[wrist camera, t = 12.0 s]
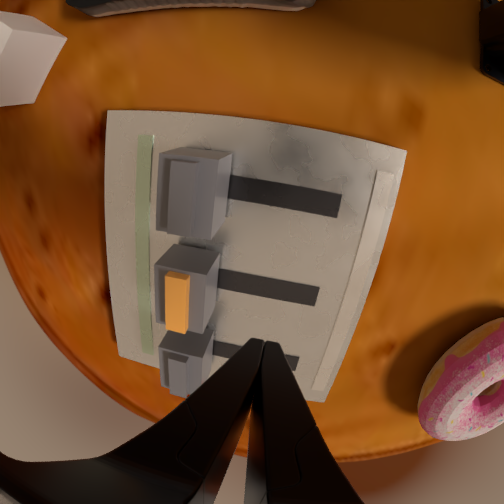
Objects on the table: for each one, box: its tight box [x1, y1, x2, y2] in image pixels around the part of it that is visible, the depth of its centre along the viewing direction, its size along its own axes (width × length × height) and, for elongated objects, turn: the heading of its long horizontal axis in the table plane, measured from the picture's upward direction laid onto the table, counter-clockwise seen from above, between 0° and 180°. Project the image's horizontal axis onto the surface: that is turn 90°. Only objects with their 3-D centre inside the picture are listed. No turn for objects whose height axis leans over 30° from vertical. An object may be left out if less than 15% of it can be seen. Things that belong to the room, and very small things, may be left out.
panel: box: [105, 110, 407, 402], centre depth 21 cm, size 18×20×2 cm
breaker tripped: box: [154, 244, 220, 334], centre depth 19 cm, size 3×4×4 cm
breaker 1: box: [156, 147, 233, 240], centre depth 16 cm, size 3×4×4 cm
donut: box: [417, 317, 504, 441], centre depth 20 cm, size 14×13×5 cm
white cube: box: [0, 11, 67, 107], centre depth 15 cm, size 6×6×6 cm
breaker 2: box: [158, 328, 214, 398], centre depth 21 cm, size 3×4×4 cm
